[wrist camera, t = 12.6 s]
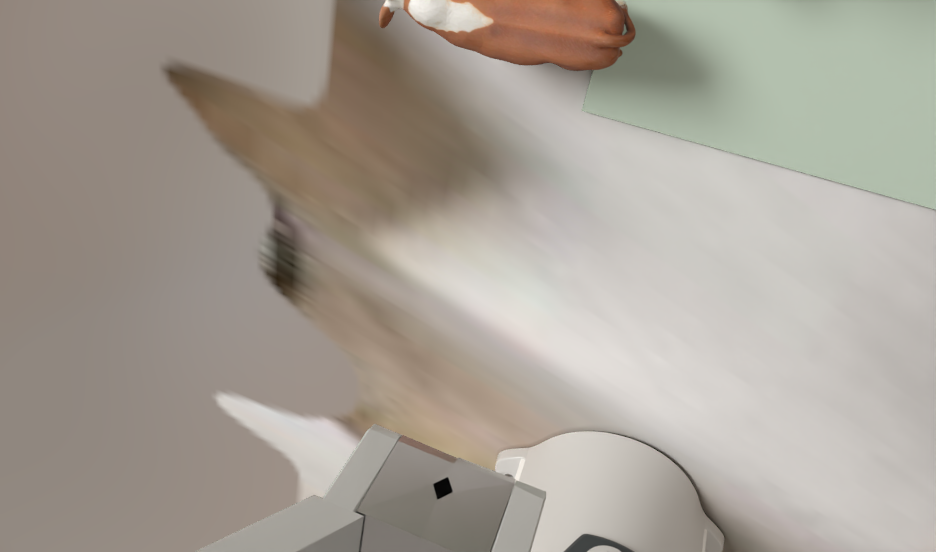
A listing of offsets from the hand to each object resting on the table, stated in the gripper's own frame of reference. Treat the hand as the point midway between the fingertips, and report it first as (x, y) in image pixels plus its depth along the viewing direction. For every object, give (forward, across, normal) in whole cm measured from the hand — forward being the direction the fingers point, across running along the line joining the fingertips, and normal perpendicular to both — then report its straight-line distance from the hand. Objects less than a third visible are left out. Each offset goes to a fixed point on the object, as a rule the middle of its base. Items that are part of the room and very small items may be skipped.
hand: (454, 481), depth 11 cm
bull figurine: (+31, +7, -2) cm, 32 cm away
